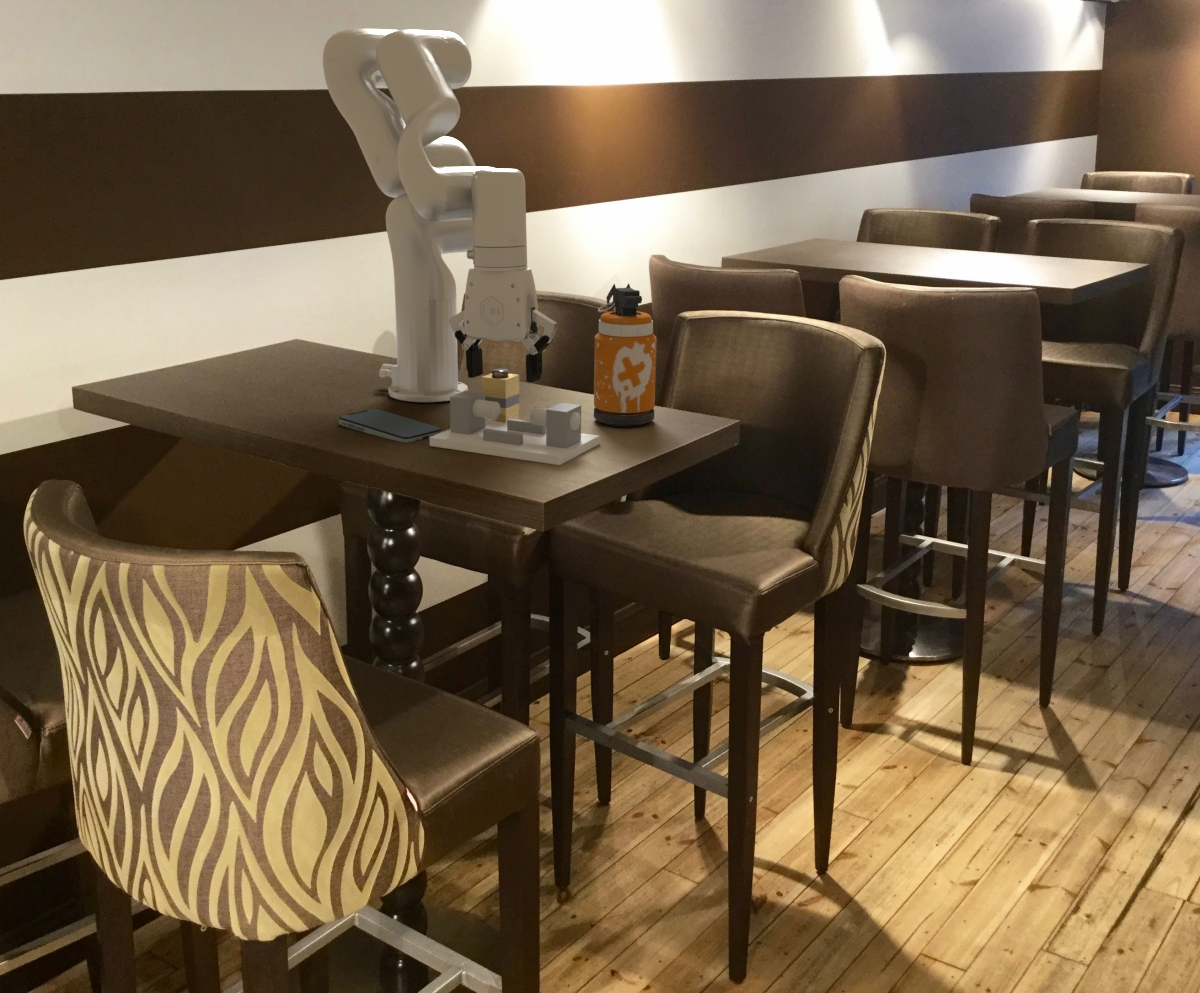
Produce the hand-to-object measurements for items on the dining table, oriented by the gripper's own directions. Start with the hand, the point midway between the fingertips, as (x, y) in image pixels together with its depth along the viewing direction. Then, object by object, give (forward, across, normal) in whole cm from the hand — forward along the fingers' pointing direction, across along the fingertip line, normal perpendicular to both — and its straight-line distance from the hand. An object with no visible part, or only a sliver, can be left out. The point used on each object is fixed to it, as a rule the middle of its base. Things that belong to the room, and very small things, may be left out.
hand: (504, 378), depth 184 cm
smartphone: (+7, -13, -10) cm, 18 cm away
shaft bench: (+7, +7, -9) cm, 14 cm away
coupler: (+7, -1, +1) cm, 7 cm away
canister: (+7, +14, +11) cm, 19 cm away
